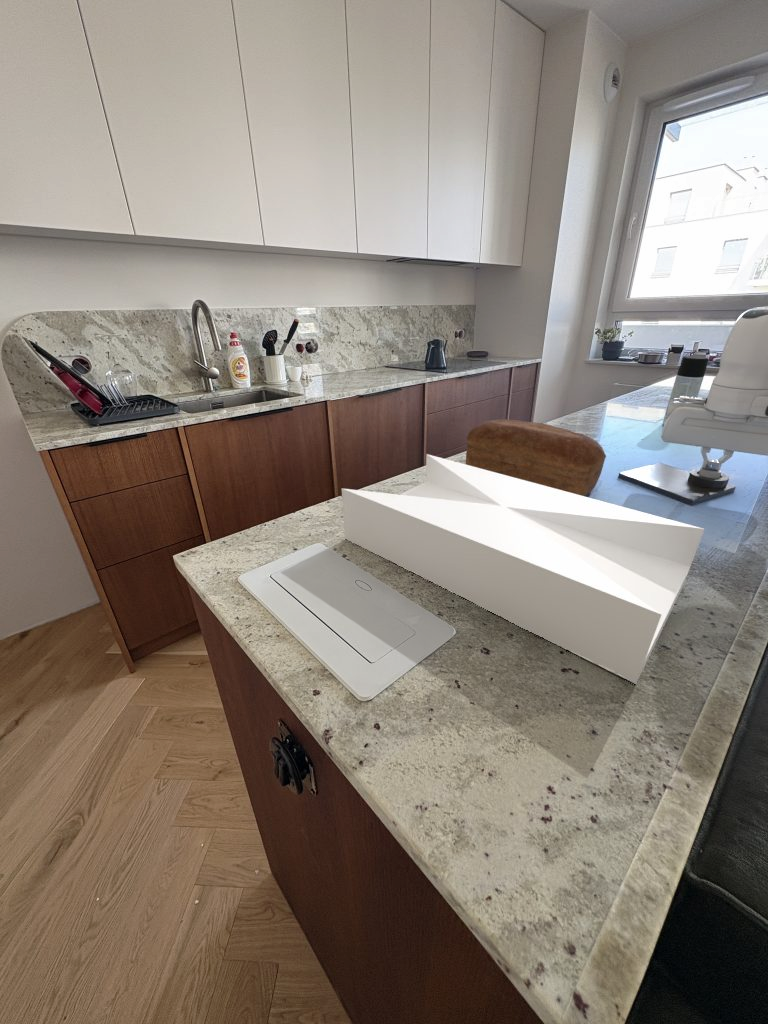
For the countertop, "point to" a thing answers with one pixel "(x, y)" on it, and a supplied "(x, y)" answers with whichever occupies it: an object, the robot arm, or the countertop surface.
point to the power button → (710, 473)
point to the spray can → (688, 378)
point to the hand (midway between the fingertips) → (710, 469)
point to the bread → (537, 454)
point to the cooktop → (678, 483)
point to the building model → (535, 556)
